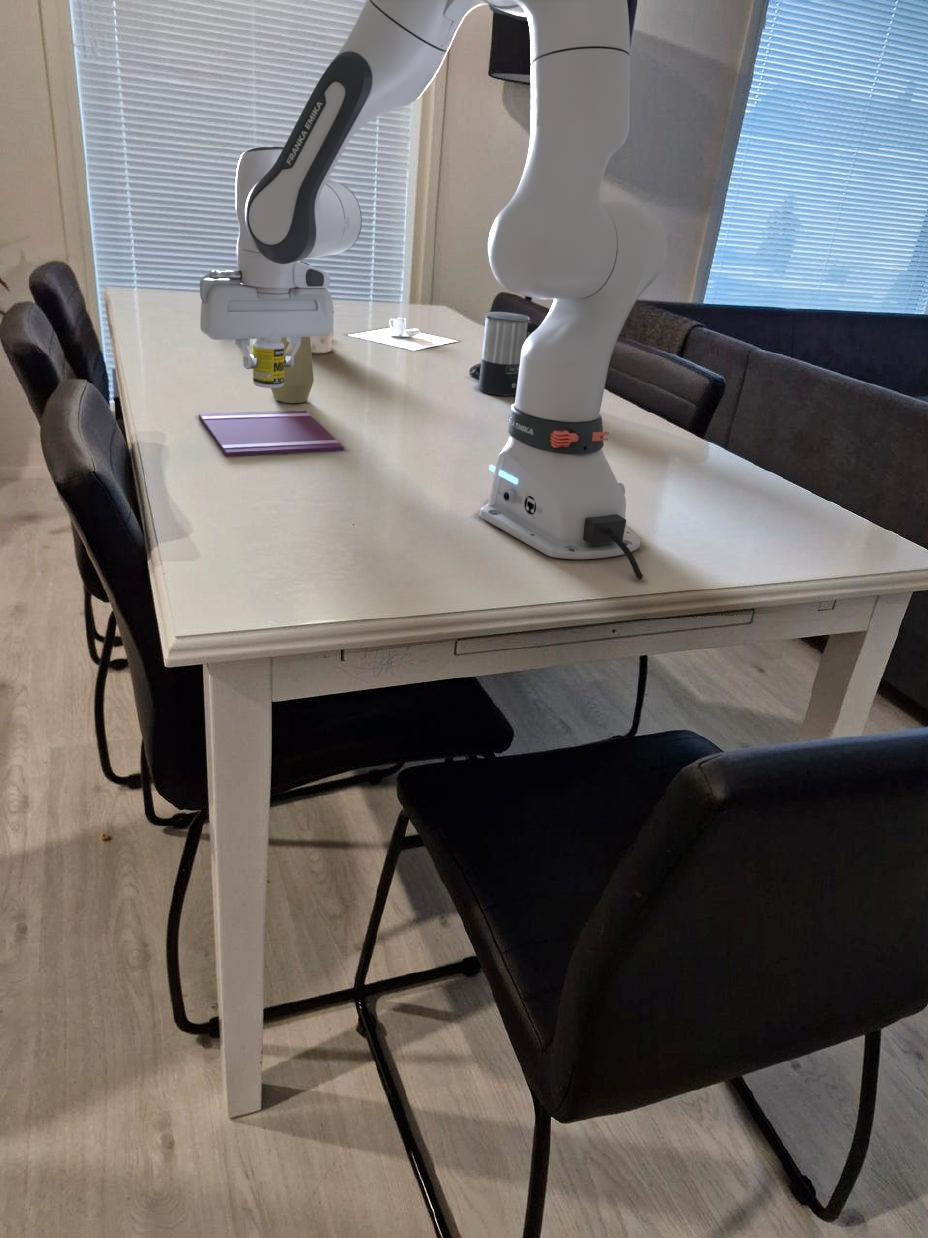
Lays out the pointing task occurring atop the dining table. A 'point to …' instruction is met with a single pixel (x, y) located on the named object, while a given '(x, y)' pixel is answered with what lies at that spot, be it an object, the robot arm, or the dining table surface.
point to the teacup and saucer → (403, 336)
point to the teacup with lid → (321, 343)
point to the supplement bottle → (269, 361)
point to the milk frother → (502, 352)
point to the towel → (268, 433)
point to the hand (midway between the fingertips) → (269, 367)
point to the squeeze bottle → (297, 375)
